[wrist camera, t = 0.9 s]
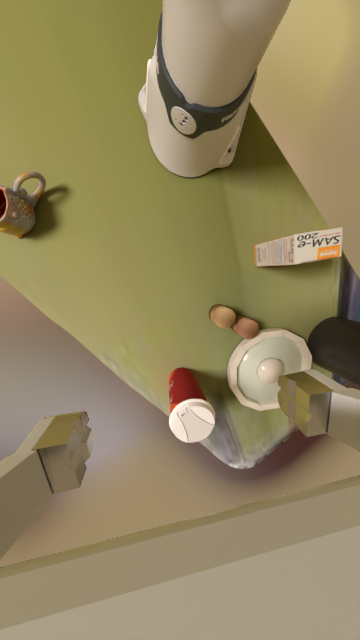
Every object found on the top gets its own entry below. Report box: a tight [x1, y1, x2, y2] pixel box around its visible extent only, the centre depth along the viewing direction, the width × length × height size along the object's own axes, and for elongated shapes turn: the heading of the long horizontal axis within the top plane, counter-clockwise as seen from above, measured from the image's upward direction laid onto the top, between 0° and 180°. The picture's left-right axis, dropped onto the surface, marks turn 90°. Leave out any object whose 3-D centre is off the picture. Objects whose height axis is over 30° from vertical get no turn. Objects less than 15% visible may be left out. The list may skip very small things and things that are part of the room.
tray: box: [227, 328, 312, 411], centre depth 49 cm, size 21×21×2 cm
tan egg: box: [209, 304, 236, 328], centre depth 43 cm, size 4×4×5 cm
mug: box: [0, 172, 46, 239], centre depth 32 cm, size 12×7×7 cm, turn 126°
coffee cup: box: [169, 368, 215, 442], centre depth 40 cm, size 8×8×15 cm
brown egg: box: [231, 315, 259, 339], centre depth 44 cm, size 4×4×5 cm
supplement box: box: [254, 227, 342, 267], centre depth 37 cm, size 8×5×13 cm, turn 99°
